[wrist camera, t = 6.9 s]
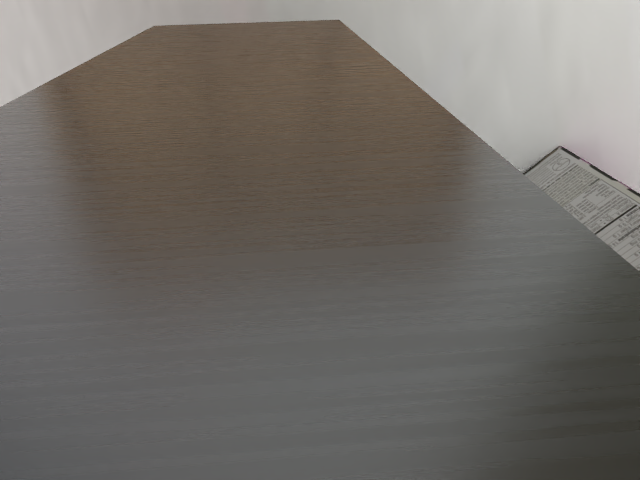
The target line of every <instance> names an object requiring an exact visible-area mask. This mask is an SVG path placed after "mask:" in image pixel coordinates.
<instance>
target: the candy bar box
mask: <svg viewBox="0 0 640 480" xmlns="http://www.w3.org/2000/svg"><path fill="white" fill-rule="evenodd" d="M524 175H525V176H526V177H527V178H528V179H530V180H531V181H532V182H533V183H534V184H535V185H537V186H538V187H539V188H540V189H541V190H543V191H544V192H545V193H546V194H547V195H549V196H550V197H551V198H552V199H553V200H555V201H556V202H557V203H558V204H559V205H561V206H562V207H563V208H564V209H565V210H567V211H568V212H569V213H570V214H571V215H573V216H574V217H575V218H576V219H577V220H578V221H580V222H581V223H582V224H583V225H584V226H586V227H587V228H588V229H589V230H590V231H592V232H593V233H594V234H595V235H596V236H598V237H599V238H600V239H601V240H602V241H604V242H605V243H606V244H607V245H608V246H610V247H611V248H612V249H613V250H614V251H616V252H617V253H618V254H619V255H620V256H621V257H623V258H624V259H625V260H626V261H627V262H629V263H630V264H631V265H632V266H633V267H635V268H636V269H637V270H638V271H639V272H640V194H639V193H637V192H636V191H634V190H632V189H631V188H630V187H628V186H626V185H625V184H623V183H621V182H619V181H617V180H616V179H614V178H612V177H611V176H609V175H608V174H606V173H604V172H603V171H601V170H599V169H598V168H597V167H595V166H593V165H592V164H590V163H588V162H586V161H585V160H583V159H581V158H580V157H578V156H577V155H575V154H573V153H572V152H570V151H568V150H567V149H565V148H563V147H559V148H557V149H556V150H554V151H553V152H551V153H550V154H549V155H547V156H546V157H545V158H543V159H542V160H541V161H540V162H539V163H538V164H537V165H535V166H534V167H533V168H532V169H530V170H529V171H528V172H526V173H525V174H524Z"/></svg>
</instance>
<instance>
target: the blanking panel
mask: <svg viewBox="0 0 640 480" xmlns="http://www.w3.org/2000/svg"><path fill="white" fill-rule="evenodd" d="M0 480H640V272H639V271H638V270H637V269H636V268H635V267H633V266H632V265H631V264H630V263H629V262H627V261H626V260H625V259H624V258H623V257H621V256H620V255H619V254H618V253H617V252H616V251H614V250H613V249H612V248H611V247H610V246H608V245H607V244H606V243H605V242H604V241H602V240H601V239H600V238H599V237H598V236H596V235H595V234H594V233H593V232H592V231H590V230H589V229H588V228H587V227H586V226H584V225H583V224H582V223H581V222H580V221H578V220H577V219H576V218H575V217H574V216H573V215H571V214H570V213H569V212H568V211H567V210H565V209H564V208H563V207H562V206H561V205H559V204H558V203H557V202H556V201H555V200H553V199H552V198H551V197H550V196H549V195H547V194H546V193H545V192H544V191H543V190H541V189H540V188H539V187H538V186H537V185H535V184H534V183H533V182H532V181H531V180H530V179H528V178H527V177H526V176H525V175H524V174H522V173H521V172H520V171H519V170H518V169H516V168H515V167H514V166H513V165H512V164H510V163H509V162H508V161H507V160H506V159H504V158H503V157H502V156H501V155H500V154H498V153H497V152H496V151H495V150H494V149H492V148H491V147H490V146H489V145H488V144H487V143H485V142H484V141H483V140H482V139H481V138H479V137H478V136H477V135H476V134H475V133H473V132H472V131H471V130H470V129H469V128H467V127H466V126H465V125H464V124H463V123H461V122H460V121H459V120H458V119H457V118H455V117H454V116H453V115H452V114H451V113H450V112H448V111H447V110H446V109H445V108H444V107H442V106H441V105H440V104H439V103H438V102H436V101H435V100H434V99H433V98H432V97H430V96H429V95H428V94H427V93H426V92H424V91H423V90H422V89H421V88H420V87H418V86H417V85H416V84H415V83H414V82H412V81H411V80H410V79H409V78H408V77H407V76H405V75H404V74H403V73H402V72H401V71H399V70H398V69H397V68H396V67H395V66H393V65H392V64H391V63H390V62H389V61H387V60H386V59H385V58H384V57H383V56H381V55H380V54H379V53H378V52H377V51H375V50H374V49H373V48H372V47H371V46H369V45H368V44H367V43H366V42H365V41H364V40H362V39H361V38H360V37H359V36H358V35H356V34H355V33H354V32H353V31H352V30H350V29H349V28H348V27H347V26H346V25H344V24H343V23H342V22H341V21H340V20H321V21H290V22H260V23H229V24H199V25H168V26H153V27H151V28H149V29H147V30H145V31H144V32H142V33H140V34H138V35H136V36H134V37H132V38H130V39H128V40H127V41H125V42H123V43H121V44H119V45H117V46H115V47H113V48H111V49H109V50H108V51H106V52H104V53H102V54H100V55H98V56H96V57H94V58H92V59H91V60H89V61H87V62H85V63H83V64H81V65H79V66H77V67H75V68H73V69H72V70H70V71H68V72H66V73H64V74H62V75H60V76H58V77H56V78H55V79H53V80H51V81H49V82H47V83H45V84H43V85H41V86H39V87H37V88H36V89H34V90H32V91H30V92H28V93H26V94H24V95H22V96H20V97H19V98H17V99H15V100H13V101H11V102H9V103H7V104H5V105H3V106H1V107H0Z"/></svg>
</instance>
